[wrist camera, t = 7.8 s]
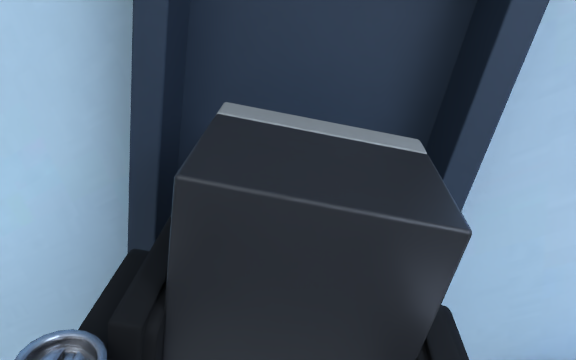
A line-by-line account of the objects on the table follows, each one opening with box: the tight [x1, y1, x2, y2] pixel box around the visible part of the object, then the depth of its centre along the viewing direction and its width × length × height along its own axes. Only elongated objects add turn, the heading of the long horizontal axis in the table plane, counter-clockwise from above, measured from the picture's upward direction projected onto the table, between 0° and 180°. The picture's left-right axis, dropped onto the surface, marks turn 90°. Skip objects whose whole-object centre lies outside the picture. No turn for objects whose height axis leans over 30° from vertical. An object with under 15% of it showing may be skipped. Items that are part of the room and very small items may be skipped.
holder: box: [128, 0, 549, 253], centre depth 13 cm, size 9×20×2 cm, turn 170°
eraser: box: [162, 102, 472, 360], centre depth 9 cm, size 4×8×4 cm, turn 170°
